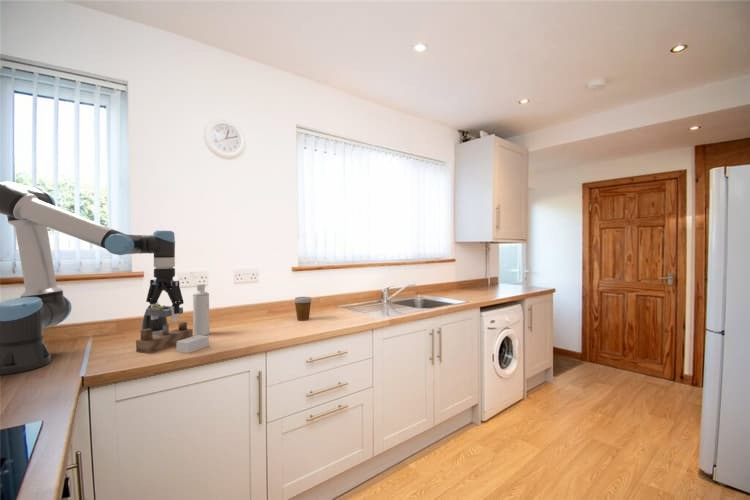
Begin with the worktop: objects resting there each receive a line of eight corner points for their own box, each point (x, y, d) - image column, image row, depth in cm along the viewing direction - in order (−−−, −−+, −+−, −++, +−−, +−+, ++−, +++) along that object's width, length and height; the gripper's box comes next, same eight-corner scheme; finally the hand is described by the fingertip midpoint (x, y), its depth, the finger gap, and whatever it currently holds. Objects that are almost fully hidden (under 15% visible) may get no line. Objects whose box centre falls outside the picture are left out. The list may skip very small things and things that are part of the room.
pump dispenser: (155, 340, 149) (155, 305, 148) (135, 339, 151) (135, 305, 151) (173, 334, 159) (173, 301, 158) (155, 333, 161) (154, 301, 161)
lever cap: (165, 317, 135) (165, 308, 135) (146, 315, 139) (146, 306, 139) (182, 313, 143) (182, 304, 143) (164, 311, 147) (164, 303, 147)
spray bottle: (191, 334, 158) (190, 280, 158) (206, 331, 163) (205, 279, 163) (196, 336, 154) (195, 281, 153) (212, 333, 159) (211, 280, 158)
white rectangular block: (188, 353, 131) (187, 342, 130) (176, 351, 133) (176, 341, 133) (208, 345, 140) (208, 336, 140) (197, 344, 142) (197, 334, 142)
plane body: (148, 353, 131) (148, 331, 131) (136, 351, 133) (135, 329, 133) (192, 339, 150) (192, 320, 149) (181, 337, 152) (180, 319, 152)
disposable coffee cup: (315, 318, 188) (315, 297, 188) (303, 322, 180) (303, 299, 180) (303, 316, 193) (302, 296, 193) (290, 320, 185) (290, 298, 185)
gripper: (193, 268, 140) (193, 320, 141) (153, 266, 148) (153, 316, 149) (177, 269, 133) (177, 324, 134) (135, 267, 141) (136, 319, 142)
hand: (164, 320), depth 141 cm, fingers closed on lever cap, 11 cm apart
